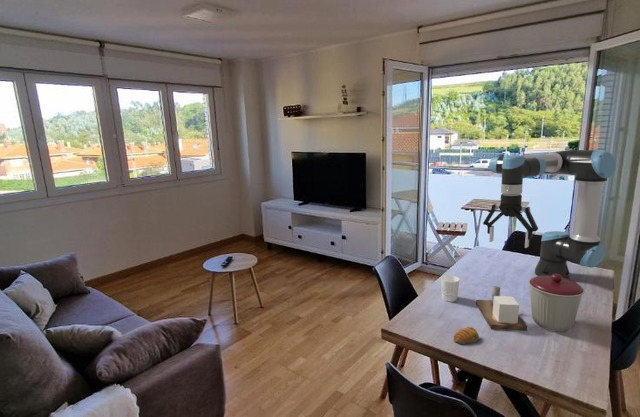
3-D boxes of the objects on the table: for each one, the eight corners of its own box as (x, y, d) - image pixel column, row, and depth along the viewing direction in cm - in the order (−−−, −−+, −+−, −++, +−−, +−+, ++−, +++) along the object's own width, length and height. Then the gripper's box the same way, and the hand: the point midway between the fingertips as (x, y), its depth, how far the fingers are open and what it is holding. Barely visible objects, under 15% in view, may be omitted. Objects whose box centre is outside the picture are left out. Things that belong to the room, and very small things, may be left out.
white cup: (459, 296, 167) (460, 276, 165) (457, 303, 160) (458, 283, 158) (441, 293, 170) (442, 274, 168) (439, 301, 163) (440, 280, 161)
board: (507, 304, 157) (508, 283, 155) (526, 330, 137) (529, 306, 135) (475, 303, 159) (477, 283, 157) (491, 329, 139) (492, 305, 137)
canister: (582, 342, 129) (589, 287, 124) (525, 330, 138) (529, 279, 133) (576, 318, 144) (582, 269, 140) (525, 309, 153) (529, 262, 149)
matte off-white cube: (492, 313, 146) (493, 296, 145) (510, 314, 145) (512, 296, 144) (498, 322, 140) (499, 304, 138) (517, 323, 139) (519, 304, 137)
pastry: (463, 348, 129) (463, 338, 128) (448, 339, 134) (448, 330, 134) (480, 340, 133) (481, 330, 132) (465, 331, 139) (465, 322, 138)
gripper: (476, 193, 150) (474, 241, 155) (544, 198, 134) (540, 252, 138) (482, 190, 156) (480, 236, 160) (549, 194, 139) (545, 246, 144)
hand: (508, 244), depth 149 cm, fingers open, 13 cm apart
